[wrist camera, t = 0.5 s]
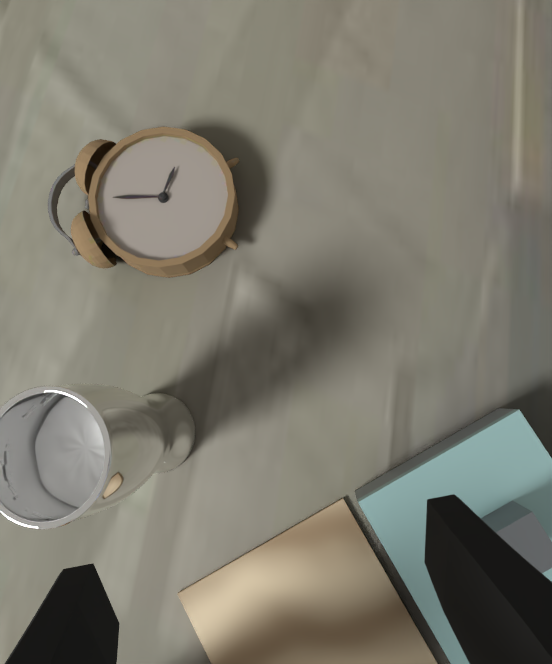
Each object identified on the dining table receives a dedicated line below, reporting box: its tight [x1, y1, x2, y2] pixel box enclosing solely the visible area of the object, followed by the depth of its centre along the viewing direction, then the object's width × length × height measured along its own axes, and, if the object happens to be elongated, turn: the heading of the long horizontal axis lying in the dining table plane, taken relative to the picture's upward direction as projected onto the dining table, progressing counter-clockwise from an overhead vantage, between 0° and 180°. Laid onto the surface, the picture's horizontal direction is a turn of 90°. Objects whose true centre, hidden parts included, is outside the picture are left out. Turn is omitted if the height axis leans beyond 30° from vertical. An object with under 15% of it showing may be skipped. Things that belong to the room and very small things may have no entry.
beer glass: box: [0, 384, 195, 529], centre depth 30 cm, size 7×7×15 cm
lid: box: [357, 409, 552, 664], centre depth 29 cm, size 12×12×4 cm
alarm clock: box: [48, 127, 239, 278], centre depth 38 cm, size 11×5×15 cm
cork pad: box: [178, 498, 438, 664], centre depth 34 cm, size 14×14×1 cm
